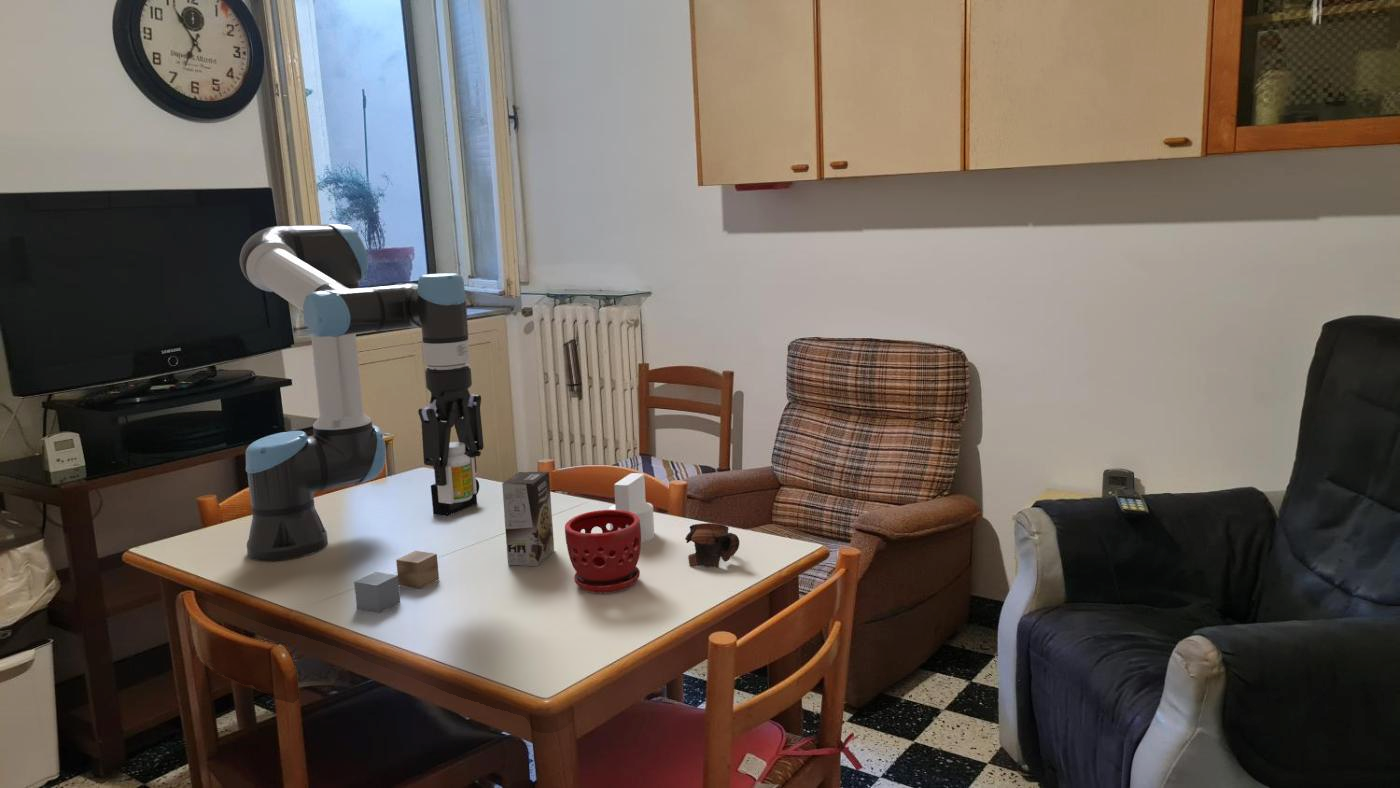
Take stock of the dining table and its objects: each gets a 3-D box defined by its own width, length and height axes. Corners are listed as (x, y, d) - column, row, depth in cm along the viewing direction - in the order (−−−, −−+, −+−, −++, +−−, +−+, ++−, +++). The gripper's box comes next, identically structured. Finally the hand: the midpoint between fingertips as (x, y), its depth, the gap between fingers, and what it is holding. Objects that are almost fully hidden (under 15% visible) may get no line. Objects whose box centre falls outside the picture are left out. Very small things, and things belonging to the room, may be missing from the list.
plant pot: (575, 572, 176) (571, 509, 174) (646, 570, 176) (643, 507, 174) (562, 600, 164) (558, 533, 162) (639, 598, 163) (636, 530, 161)
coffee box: (539, 566, 180) (533, 483, 177) (506, 565, 181) (500, 483, 179) (555, 550, 189) (550, 470, 186) (525, 549, 190) (519, 470, 187)
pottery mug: (673, 568, 178) (675, 524, 181) (704, 575, 185) (705, 533, 188) (726, 562, 171) (727, 517, 174) (756, 570, 178) (756, 527, 181)
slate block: (357, 609, 163) (354, 581, 162) (378, 598, 168) (375, 571, 167) (379, 613, 161) (376, 585, 160) (400, 602, 166) (397, 575, 165)
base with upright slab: (644, 544, 190) (641, 486, 188) (603, 541, 193) (599, 483, 191) (660, 530, 199) (658, 474, 196) (620, 527, 201) (617, 472, 199)
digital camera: (452, 517, 213) (449, 486, 212) (433, 514, 216) (430, 484, 215) (481, 504, 223) (479, 474, 221) (463, 502, 225) (460, 473, 224)
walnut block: (398, 586, 173) (396, 559, 172) (417, 576, 178) (415, 550, 177) (420, 589, 171) (417, 563, 170) (439, 579, 176) (436, 553, 175)
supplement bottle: (468, 503, 164) (464, 448, 163) (437, 503, 165) (432, 448, 163) (476, 493, 170) (472, 440, 168) (445, 494, 170) (441, 441, 168)
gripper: (427, 375, 153) (439, 515, 157) (499, 358, 169) (508, 485, 173) (391, 373, 156) (404, 510, 160) (465, 356, 172) (474, 481, 177)
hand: (458, 497), depth 167 cm, fingers closed on supplement bottle, 5 cm apart
